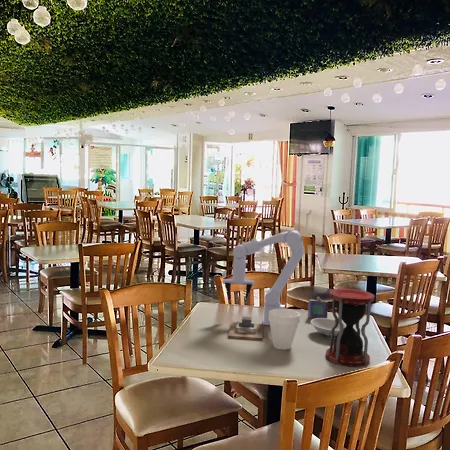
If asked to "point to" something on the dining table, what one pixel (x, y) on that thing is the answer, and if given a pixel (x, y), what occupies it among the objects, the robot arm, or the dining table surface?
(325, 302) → the flask
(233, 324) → the dock
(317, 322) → the dish
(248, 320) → the grey matte cube
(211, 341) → the dining table surface
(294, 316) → the cup
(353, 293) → the hourglass
